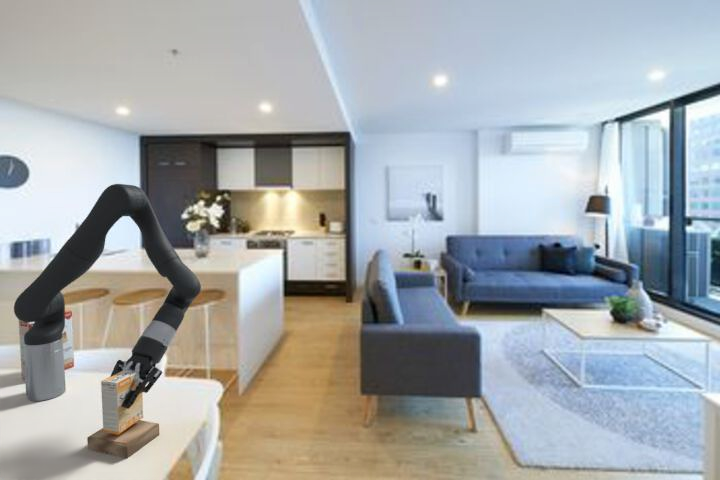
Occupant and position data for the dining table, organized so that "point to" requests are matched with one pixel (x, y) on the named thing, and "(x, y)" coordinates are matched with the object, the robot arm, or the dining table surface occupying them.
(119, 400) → the supplement box
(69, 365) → the cracker box
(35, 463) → the dining table surface
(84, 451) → the dining table surface
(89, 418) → the dining table surface
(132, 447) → the brown square board
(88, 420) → the dining table surface
